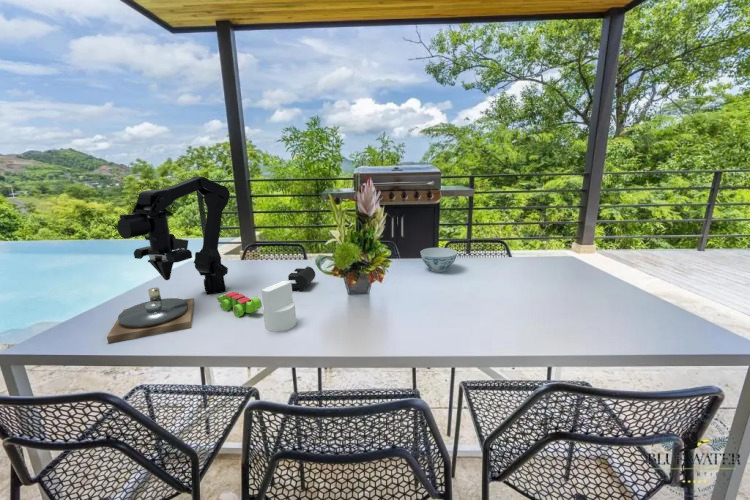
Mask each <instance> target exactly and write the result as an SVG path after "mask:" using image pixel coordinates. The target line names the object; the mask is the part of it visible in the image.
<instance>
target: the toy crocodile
mask: <svg viewBox="0 0 750 500" xmlns="http://www.w3.org/2000/svg"><path fill="white" fill-rule="evenodd" d="M216 300H217V301H218V303H219V304H220V307H221V308H222V310H223V311H224V312H227V311H230V310H232V311H233V314H234V316H235V317H237V318H240V317H242V316H244V313H247V314H252V313H254V312H256V311H257V310H259V309H261V308H263V302H262V300H261V299H260V298H259V297H258V296H255V297H254V296H253V297H252V298H251V299H250V298H249V297H248V296H245V295H244V294H243V293H240V292H237V291H231V292H227V293H223V294H221V295H219V296H216Z"/></svg>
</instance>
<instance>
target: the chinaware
mask: <svg viewBox="0 0 750 500" xmlns="http://www.w3.org/2000/svg"><path fill="white" fill-rule="evenodd" d="M457 255H458V251H456V250H455V249H452V248H447V247H427V248H424V249H422V250H420V256H421V260H422V261H423V263H424V264H425V265H426V267H428V268H430V271H431V272H435V273H443V272H446V271H447V269H448V268H450V267H451V266H452V265H453V264H454V263H455V261H456V260H457Z"/></svg>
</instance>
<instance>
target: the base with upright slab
mask: <svg viewBox="0 0 750 500" xmlns="http://www.w3.org/2000/svg"><path fill="white" fill-rule="evenodd" d="M291 283H292V281H291V280H282V281H280V282H278V283H275V284H272V285H270V286H267V287H264V288H262V289H261V299H262V315H263V323H264V329H265V330H266V331H268V332H275V333H278V332H284V331H288V330H291V329H292V328H294V327H296V325H297V315H296V303H295V302H294V297H293V291H292V285H291Z"/></svg>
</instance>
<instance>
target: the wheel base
mask: <svg viewBox="0 0 750 500" xmlns="http://www.w3.org/2000/svg"><path fill="white" fill-rule="evenodd" d="M183 300H185V301H187V303H188V310H187V312H186V313H185V314H183V315H182V316H180V317H178V318H176V319H174V320H172V321H169V322H166V323H163V324H159V325H155V326H150V327H143V328H126V327H123V326H121V325H120V324H119V320H118V318H117V319H116V321H115V323H114V324H113V326H112V327H111V329H110V331H109V332H108V334H107V336H106V339H107V344H109V345H110V344H114V343H119V342H124V341H129V340H133V339H135V340H136V339H139V338H144V337H146V338H147V337H150V336H156V335H161V334H166V333H171V332H176V331H181V330H186V329H190V328H192V325H193V318H194V310H195V299H194V297H191V298H185V299H183ZM126 309H127V308H124V309H122V311H121V313H122V312H123V311H125V310H126Z"/></svg>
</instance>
